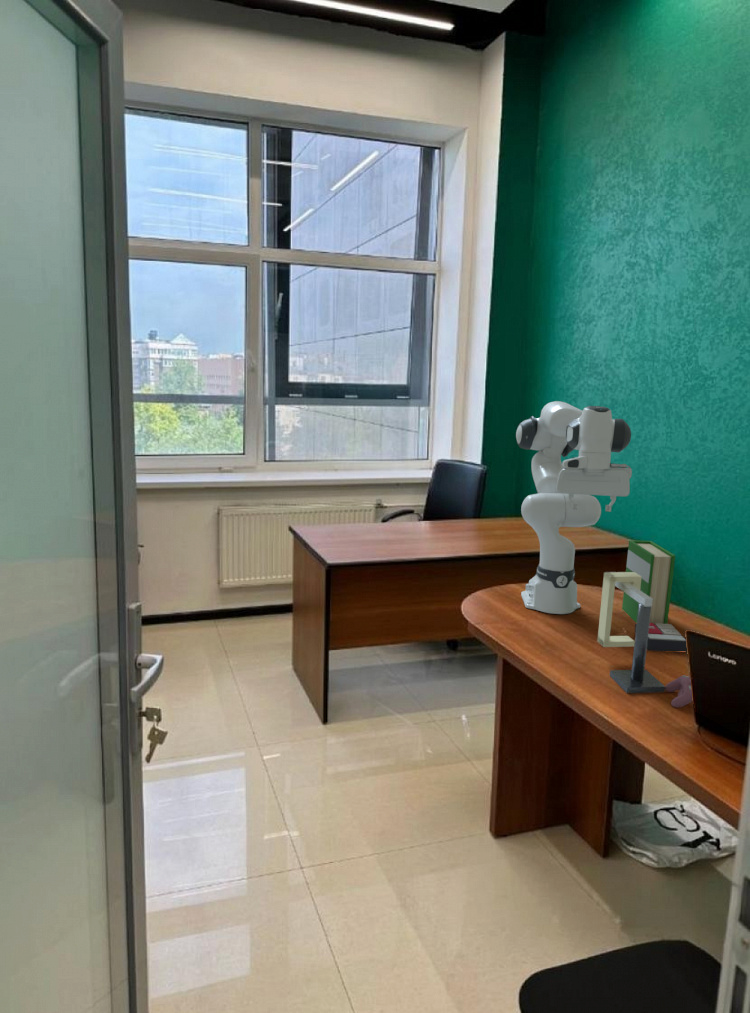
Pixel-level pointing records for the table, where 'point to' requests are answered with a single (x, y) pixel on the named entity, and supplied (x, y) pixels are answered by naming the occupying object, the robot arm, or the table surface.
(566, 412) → the robot arm
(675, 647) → the calculator
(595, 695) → the table surface
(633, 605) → the hardback book
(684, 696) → the video game controller
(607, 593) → the c-shaped bracket
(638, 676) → the hook stand
